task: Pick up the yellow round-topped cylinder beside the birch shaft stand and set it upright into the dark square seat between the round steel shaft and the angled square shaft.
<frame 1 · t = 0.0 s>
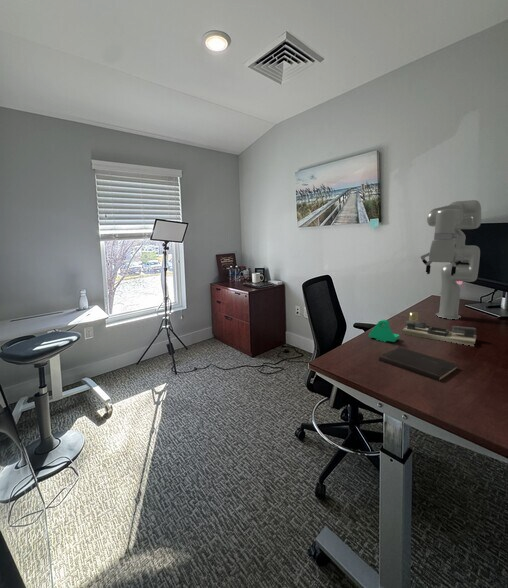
hand: (440, 274, 140), 31 cm above the table, tool pointing down, fingers open, 9 cm apart
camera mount: (383, 339, 147), on the table
yellow round-topped cylinder: (413, 324, 168), on the table
shaft stand: (437, 336, 148), on the table
hardcover book: (416, 366, 119), on the table
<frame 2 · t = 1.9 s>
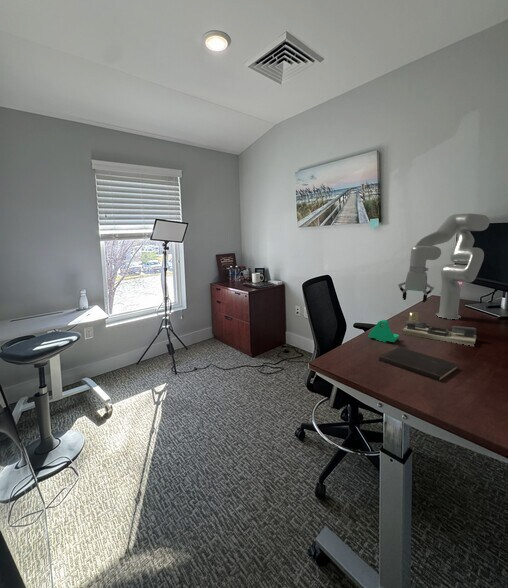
hand: (414, 300, 165), 14 cm above the table, tool pointing down, fingers open, 9 cm apart
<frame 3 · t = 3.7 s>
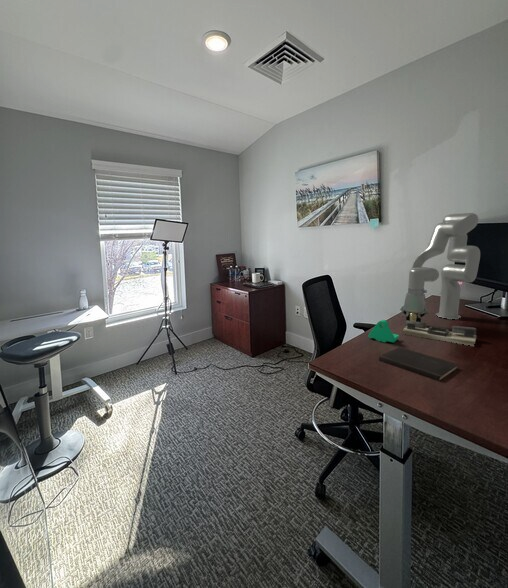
hand: (413, 323, 167), 1 cm above the table, tool pointing down, fingers closed on yellow round-topped cylinder, 4 cm apart
yellow round-topped cylinder: (413, 324, 168), on the table, touching gripper
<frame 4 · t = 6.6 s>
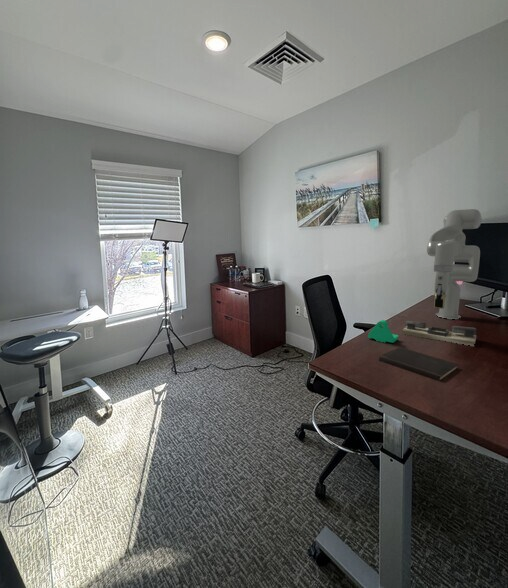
hand: (439, 305, 146), 16 cm above the table, tool pointing down, fingers closed on yellow round-topped cylinder, 4 cm apart
yellow round-topped cylinder: (439, 307, 146), point 15 cm above the table, touching gripper
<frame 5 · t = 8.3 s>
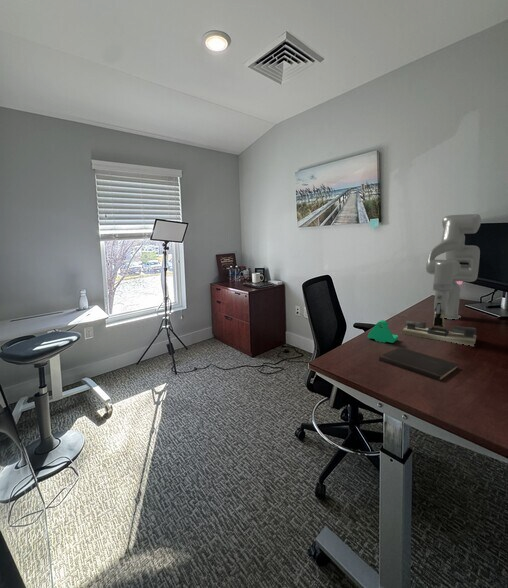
hand: (438, 323, 147), 7 cm above the table, tool pointing down, fingers closed on yellow round-topped cylinder, 4 cm apart
yellow round-topped cylinder: (438, 325, 147), point 6 cm above the table, touching gripper
when the fingers open (4 cm above the table, at t = 9.6 s): yellow round-topped cylinder drops 1 cm, resting on shaft stand.
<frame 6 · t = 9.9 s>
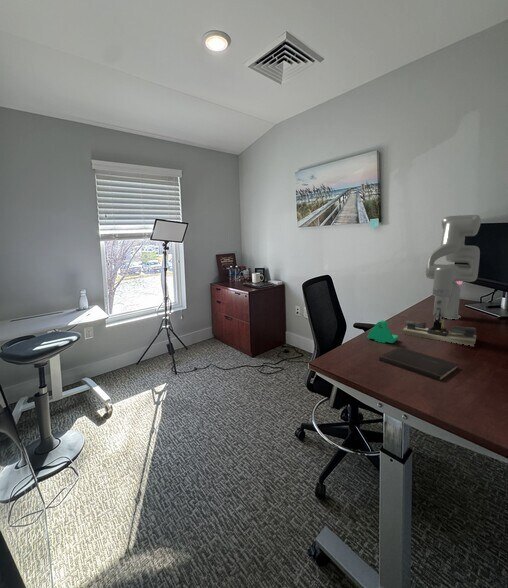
hand: (438, 327, 147), 5 cm above the table, tool pointing down, fingers open, 7 cm apart
yellow round-topped cylinder: (437, 332, 148), point 2 cm above the table, touching shaft stand
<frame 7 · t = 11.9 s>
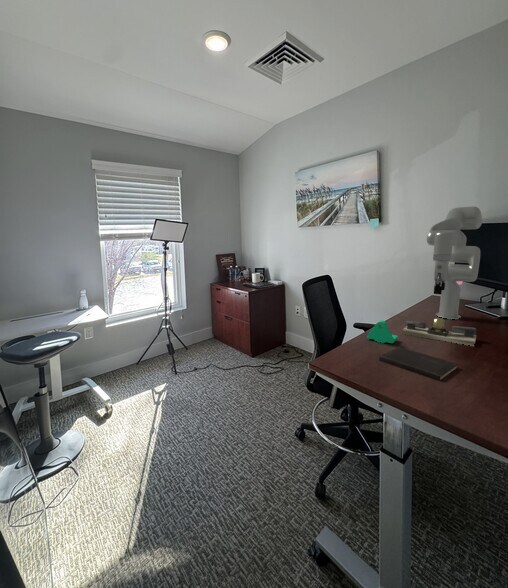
hand: (439, 292, 149), 21 cm above the table, tool pointing down, fingers open, 9 cm apart
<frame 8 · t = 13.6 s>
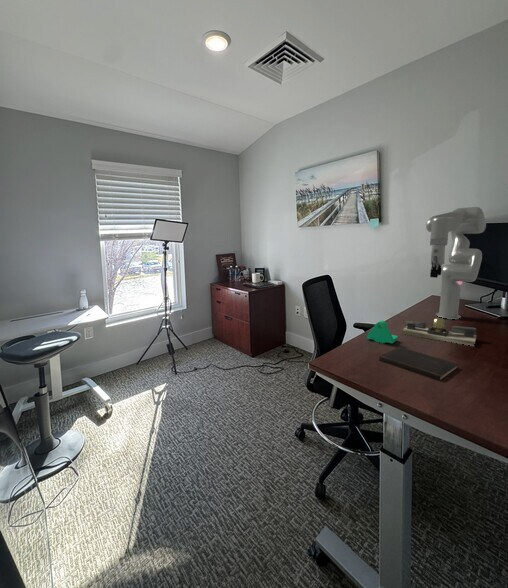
hand: (435, 276, 155), 28 cm above the table, tool pointing down, fingers open, 9 cm apart
at the end: yellow round-topped cylinder 0.1 cm off-centre on the shaft stand, point 2.0 cm above the shaft stand's base; yellow round-topped cylinder tilted 0°; the gripper is holding nothing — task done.
